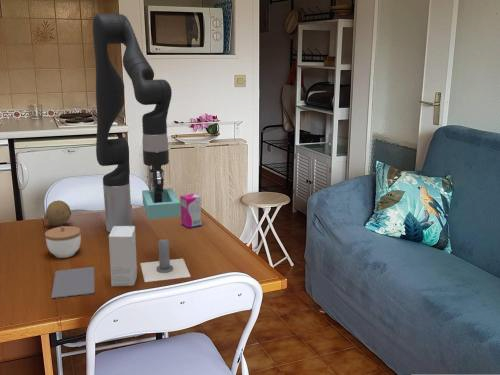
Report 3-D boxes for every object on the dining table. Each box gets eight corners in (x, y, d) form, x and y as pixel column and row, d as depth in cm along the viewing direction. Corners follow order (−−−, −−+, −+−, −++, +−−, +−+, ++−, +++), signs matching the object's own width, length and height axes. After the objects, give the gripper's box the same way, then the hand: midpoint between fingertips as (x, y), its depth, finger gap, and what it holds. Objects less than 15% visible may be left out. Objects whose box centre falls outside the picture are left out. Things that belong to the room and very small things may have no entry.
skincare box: (115, 276, 153) (112, 225, 149) (139, 275, 154) (136, 225, 150) (111, 289, 145) (107, 235, 141) (135, 288, 146) (132, 235, 142)
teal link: (142, 203, 161) (142, 190, 160) (172, 200, 164) (171, 188, 163) (148, 219, 146) (147, 205, 145) (180, 216, 149) (180, 202, 148)
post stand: (140, 265, 161) (138, 235, 158) (183, 260, 164) (182, 231, 162) (144, 284, 148) (143, 251, 145) (190, 279, 151) (189, 247, 149)
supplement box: (194, 222, 201) (194, 192, 198) (201, 226, 196) (201, 196, 194) (180, 224, 198) (179, 195, 195) (187, 229, 194) (186, 198, 191)
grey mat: (55, 272, 156) (55, 270, 156) (97, 267, 159) (97, 266, 159) (51, 299, 140) (51, 297, 139) (98, 293, 143) (98, 291, 143)
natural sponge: (77, 226, 196) (75, 200, 194) (55, 232, 190) (52, 205, 187) (64, 221, 202) (62, 196, 199) (42, 227, 196) (39, 201, 193)
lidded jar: (89, 250, 173) (87, 223, 171) (68, 262, 163) (65, 234, 161) (61, 246, 176) (59, 219, 174) (39, 258, 167) (36, 230, 164)
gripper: (140, 144, 162) (143, 198, 167) (145, 153, 150) (147, 211, 154) (165, 143, 164) (167, 197, 169) (171, 151, 152) (173, 209, 156)
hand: (158, 203), depth 162 cm, fingers closed on teal link, 2 cm apart
